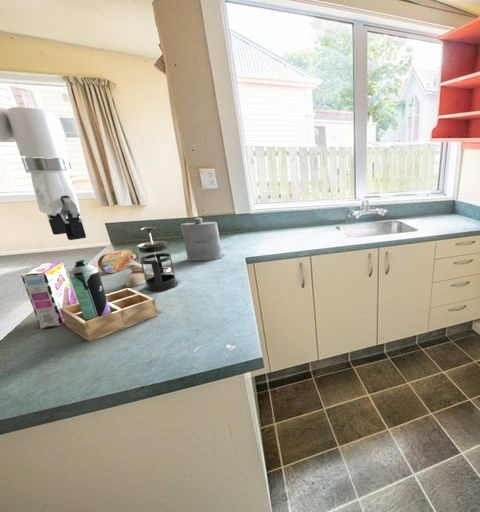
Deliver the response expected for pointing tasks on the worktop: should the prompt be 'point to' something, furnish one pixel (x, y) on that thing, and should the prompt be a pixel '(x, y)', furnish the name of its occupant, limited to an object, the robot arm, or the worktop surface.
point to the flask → (201, 240)
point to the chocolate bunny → (135, 274)
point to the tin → (117, 260)
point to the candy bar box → (49, 293)
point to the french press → (157, 265)
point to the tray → (111, 314)
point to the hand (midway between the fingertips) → (69, 236)
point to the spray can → (89, 290)
